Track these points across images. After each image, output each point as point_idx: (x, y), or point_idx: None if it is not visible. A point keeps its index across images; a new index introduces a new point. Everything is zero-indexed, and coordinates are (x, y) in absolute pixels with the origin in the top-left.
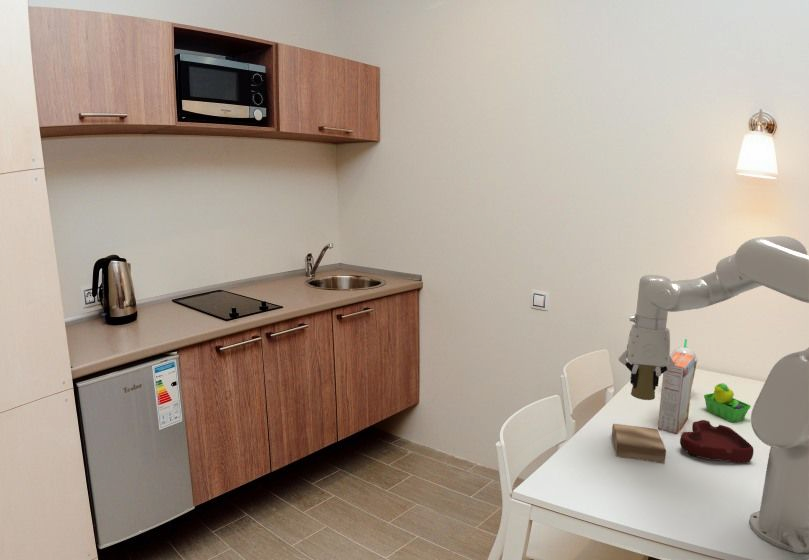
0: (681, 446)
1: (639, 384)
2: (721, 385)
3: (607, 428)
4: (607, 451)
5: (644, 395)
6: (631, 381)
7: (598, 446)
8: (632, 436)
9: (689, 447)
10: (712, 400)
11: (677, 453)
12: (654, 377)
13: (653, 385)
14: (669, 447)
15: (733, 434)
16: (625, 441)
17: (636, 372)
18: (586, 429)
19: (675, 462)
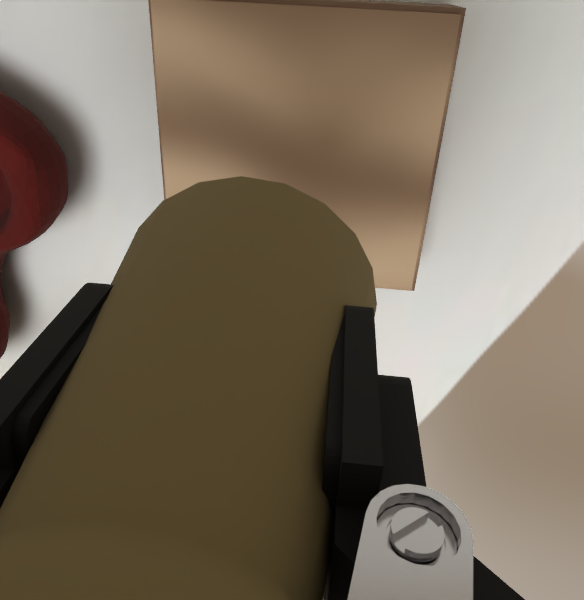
0: (65, 161)
1: (303, 318)
2: None
3: (406, 330)
4: (487, 61)
5: (245, 204)
6: (409, 396)
7: (524, 116)
8: (336, 136)
9: (15, 112)
10: None
11: (97, 133)
12: (19, 417)
13: (91, 323)
14: (131, 192)
15: None
16: (403, 44)
17: (347, 529)
18: (525, 302)
19: (114, 17)
